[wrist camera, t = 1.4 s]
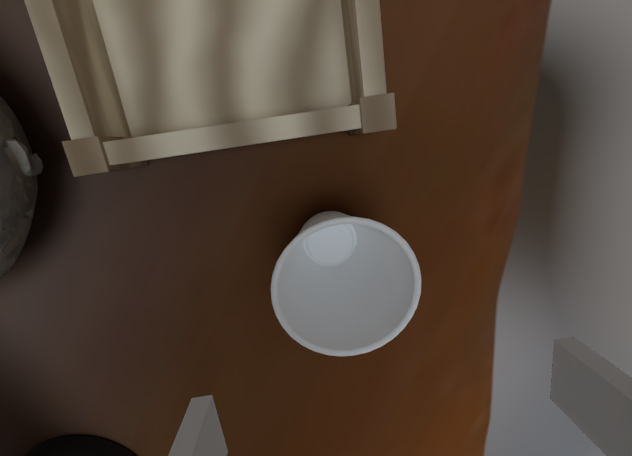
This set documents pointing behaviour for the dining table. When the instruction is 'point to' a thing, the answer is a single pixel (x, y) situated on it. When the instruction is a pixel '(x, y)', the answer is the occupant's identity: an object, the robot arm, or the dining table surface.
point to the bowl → (15, 187)
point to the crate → (209, 74)
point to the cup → (345, 285)
